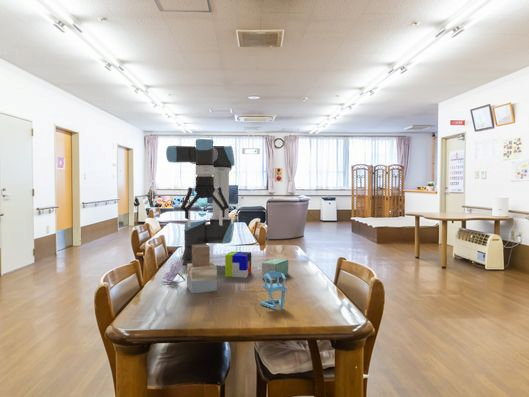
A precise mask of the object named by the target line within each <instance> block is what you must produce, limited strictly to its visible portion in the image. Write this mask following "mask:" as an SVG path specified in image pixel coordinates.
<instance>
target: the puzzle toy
mask: <svg viewBox="0 0 529 397" xmlns="http://www.w3.org/2000/svg"><path fill="white" fill-rule="evenodd" d="M224 256H225V260H224V261H225V263H224V264H225V265H224V266H225V268H224V269H225V271H224V273H225V274H224V275H225V277H230V278H248V276H250V274H251V273H252V252H251V251H230V252H228V253H226V254H225V255H224Z"/></svg>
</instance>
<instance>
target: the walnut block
mask: <svg viewBox="0 0 529 397" xmlns="http://www.w3.org/2000/svg"><path fill="white" fill-rule="evenodd" d="M210 248H211V246H210V245H209V244H208V243H206V244H200V245H192V265H193V266H194V267H203V266H210V262H211V261H210V258H211V257H210V256H211V254H210V252H211V250H210Z"/></svg>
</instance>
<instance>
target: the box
mask: <svg viewBox="0 0 529 397" xmlns="http://www.w3.org/2000/svg"><path fill="white" fill-rule="evenodd" d="M270 271H275V272H280V273H282V274H284V276H285V277H286V276H288V275H289V259H286V258H272V259H270V260H267V261H264V262H261V278H262V279H264V275H265V274H266V273H268V272H270ZM281 278H282V277H281V276H280V277H279V279H281ZM266 279H267V280H268V278H266ZM271 279H272V281H277V277H271ZM264 280H265V279H264Z"/></svg>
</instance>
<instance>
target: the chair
mask: <svg viewBox="0 0 529 397" xmlns="http://www.w3.org/2000/svg"><path fill="white" fill-rule="evenodd" d="M280 276H281V278H282V280H283V281H282V283H280V278H279V277H280ZM271 277H277V279H276V283H273V280H272V279H271ZM266 278H268V279H266ZM286 280H287V279H286V275H285V276H284V274H282V273H280V272H275V271H270V272H268V273H266V274H265V275H264V284H262V288H263V289H265V290H266V293H267V294H268V295H269V296H268V297H269V298H270V299H269V300H262V301H260V302H259V303H260V304H259V305H261V306H264V307H266V306H267V308H269V307H270V308H269V309H271V310H274V309H275V310H274V311H277V310H278V306H277V304H276V303H278V305H280V306H279V308H280V309H281V310H284V309H285V307H284V305H285V297H286V296H285V295H286V291H287V290H288V287H287V286H286V285H285V283H286ZM268 282H269V284H268ZM274 292H281V299H278V298H277V299H274V297H273V294H272V293H274ZM283 308H284V309H283Z"/></svg>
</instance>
